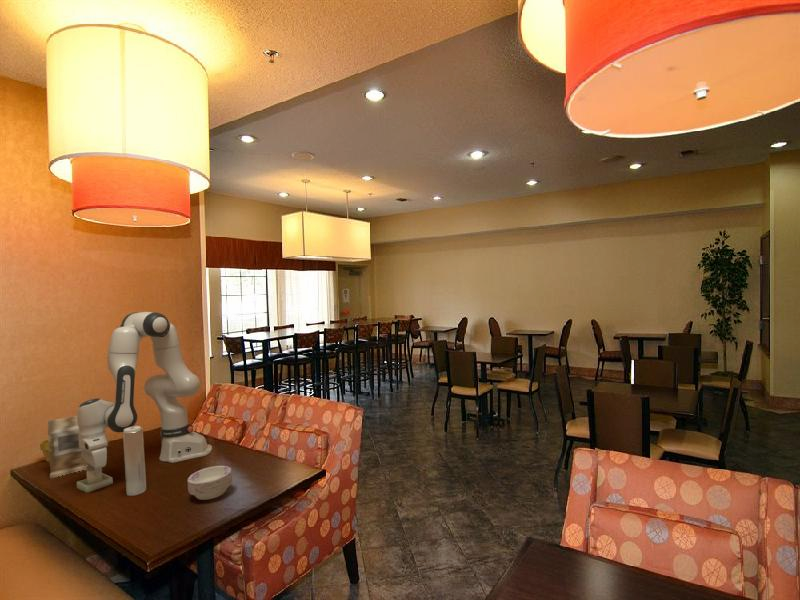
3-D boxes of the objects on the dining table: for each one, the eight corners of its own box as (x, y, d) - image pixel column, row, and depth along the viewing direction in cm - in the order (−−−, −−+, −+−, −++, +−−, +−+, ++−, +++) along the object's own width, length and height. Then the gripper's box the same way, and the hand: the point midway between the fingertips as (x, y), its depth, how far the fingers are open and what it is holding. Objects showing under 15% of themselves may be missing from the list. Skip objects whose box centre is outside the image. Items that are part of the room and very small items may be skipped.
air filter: (136, 496, 158) (132, 430, 157) (122, 495, 159) (118, 430, 159) (150, 488, 164) (146, 425, 164) (136, 487, 165) (132, 425, 165)
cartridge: (104, 480, 172) (103, 463, 172) (100, 485, 167) (99, 467, 167) (90, 482, 170) (89, 465, 170) (85, 487, 165) (84, 470, 165)
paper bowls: (187, 492, 159) (186, 471, 159) (230, 481, 167) (229, 461, 167) (189, 508, 146) (188, 486, 146) (235, 496, 153) (234, 475, 153)
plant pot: (42, 459, 202) (41, 439, 202) (69, 454, 208) (68, 434, 208) (40, 466, 193) (38, 445, 193) (68, 460, 200) (67, 439, 200)
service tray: (103, 479, 175) (102, 473, 175) (112, 483, 170) (112, 477, 170) (77, 488, 168) (76, 481, 167) (86, 493, 162) (86, 486, 162)
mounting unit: (95, 461, 196) (92, 412, 196) (95, 467, 188) (92, 416, 188) (51, 471, 186) (48, 419, 186) (49, 478, 178) (46, 424, 178)
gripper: (76, 437, 173) (78, 470, 173) (89, 447, 160) (92, 483, 160) (94, 433, 178) (96, 465, 178) (109, 442, 164) (111, 477, 165)
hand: (94, 473), depth 169 cm, fingers open, 8 cm apart
